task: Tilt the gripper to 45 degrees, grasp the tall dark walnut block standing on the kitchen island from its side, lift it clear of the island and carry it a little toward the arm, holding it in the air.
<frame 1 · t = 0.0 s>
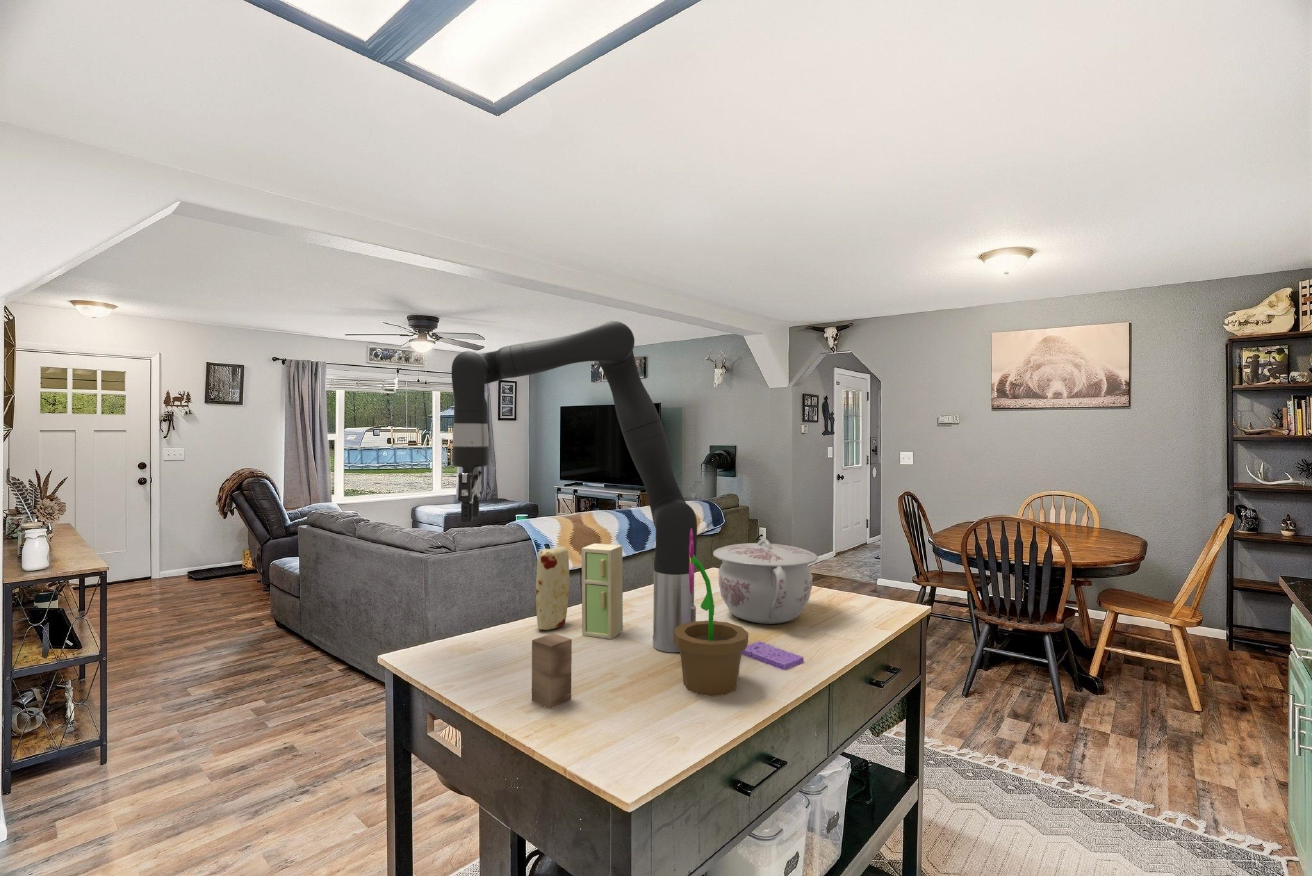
hand: (470, 518, 135), 29 cm above the countertop, tool pointing down, fingers open, 8 cm apart
sponges: (770, 661, 134), on the countertop
flowerpot: (710, 685, 119), on the countertop
food model: (552, 628, 153), on the countertop
walnut block: (551, 700, 112), on the countertop
toy refrigerator: (601, 634, 149), on the countertop
chamber pot: (763, 617, 164), on the countertop
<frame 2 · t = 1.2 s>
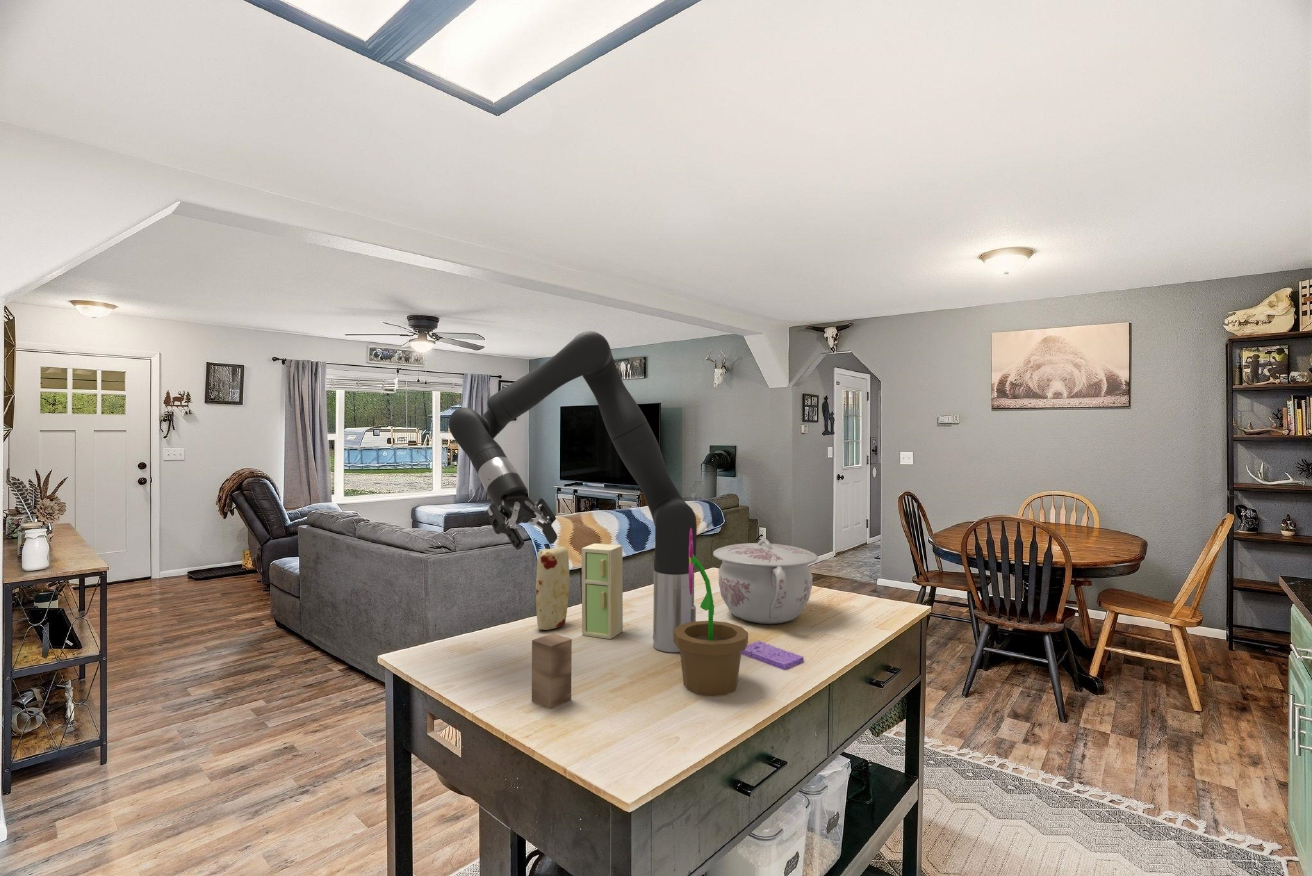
hand: (538, 544, 124), 26 cm above the countertop, tool tilted 45°, fingers open, 8 cm apart
nothing on the countertop moved.
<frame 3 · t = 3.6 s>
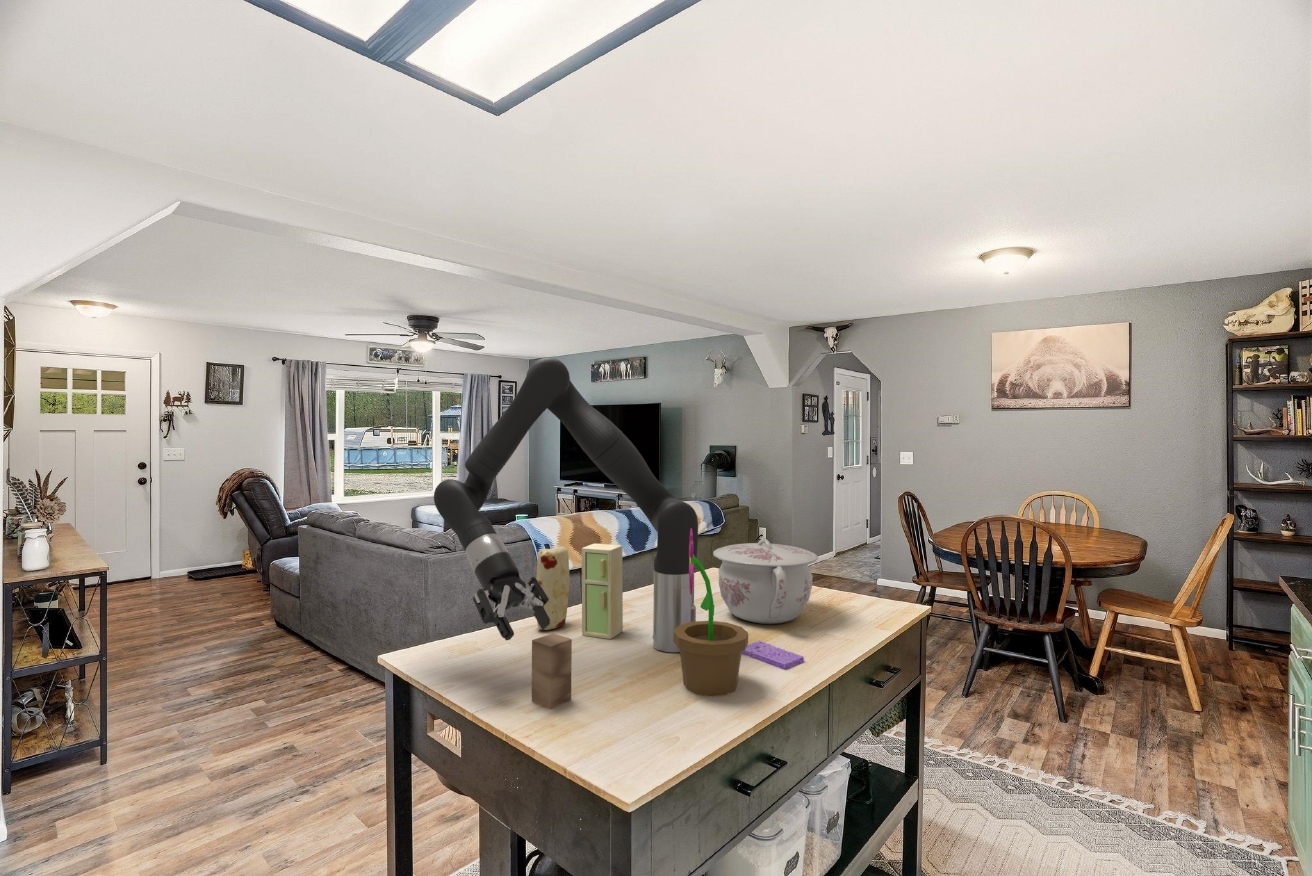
hand: (529, 631, 116), 11 cm above the countertop, tool tilted 45°, fingers open, 8 cm apart
nothing on the countertop moved.
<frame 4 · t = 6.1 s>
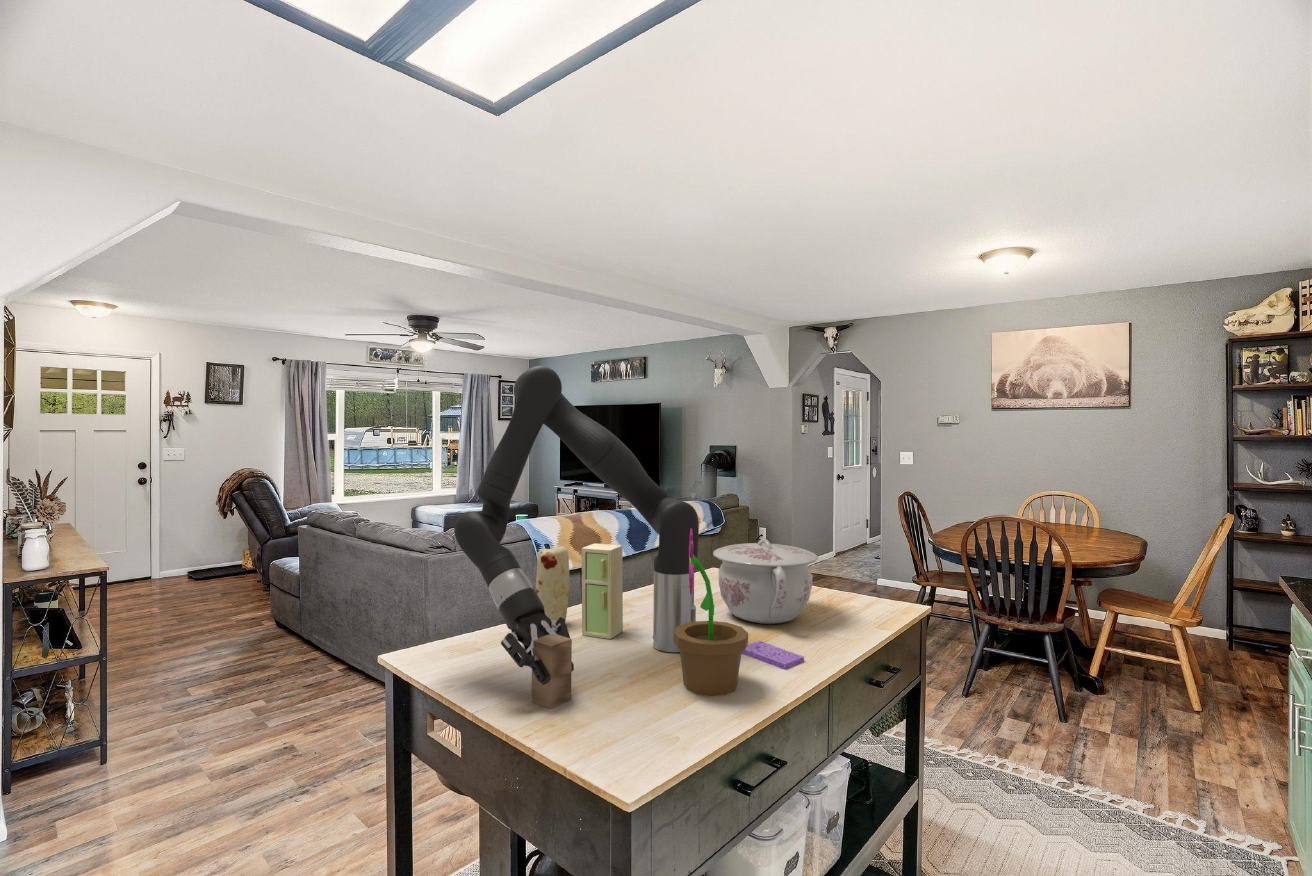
hand: (558, 676, 111), 5 cm above the countertop, tool tilted 45°, fingers closed on walnut block, 5 cm apart
walnut block: (551, 700, 112), on the countertop, touching gripper
everything else where it was.
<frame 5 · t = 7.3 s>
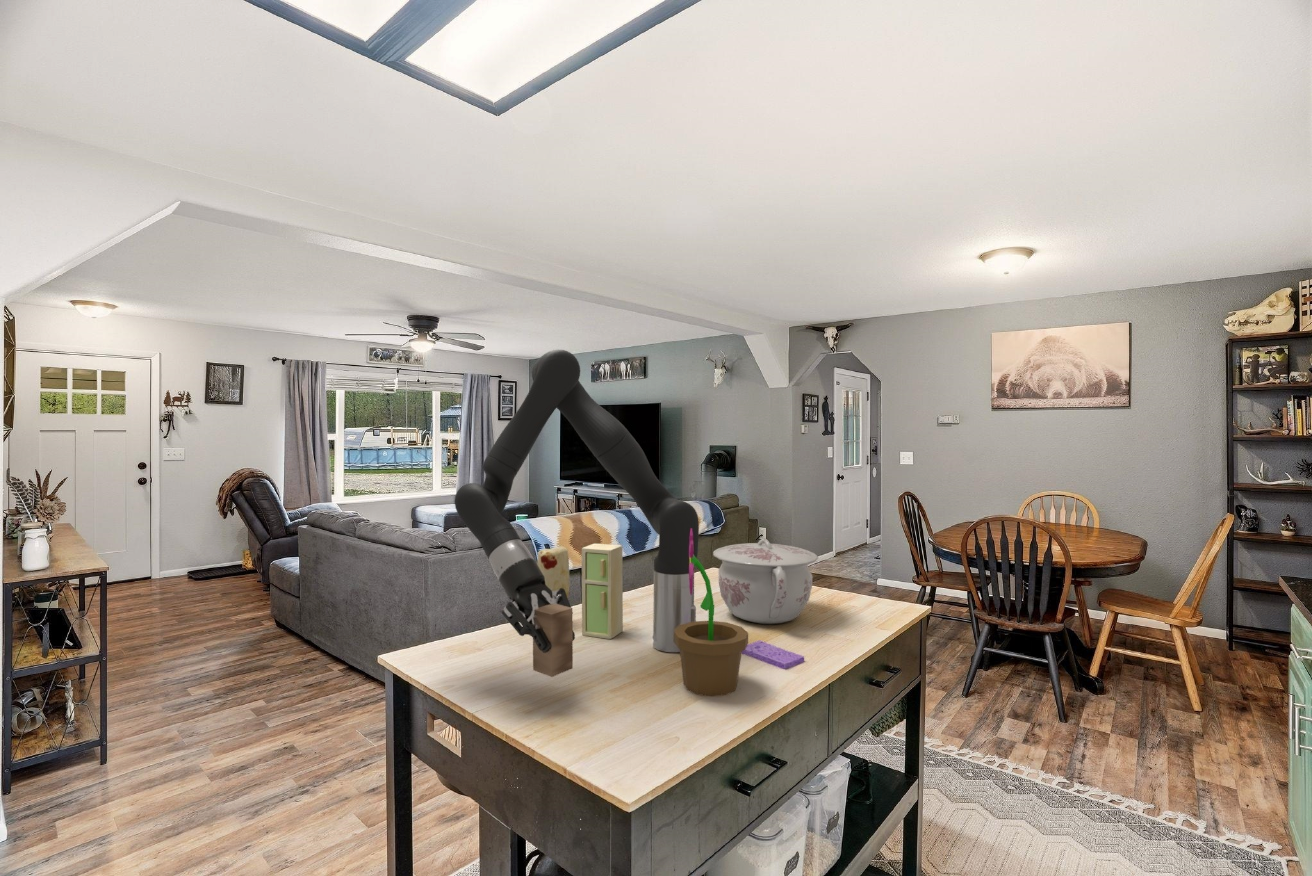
hand: (559, 645, 111), 10 cm above the countertop, tool tilted 45°, fingers closed on walnut block, 5 cm apart
walnut block: (552, 669, 112), point 6 cm above the countertop, touching gripper
everything else where it was.
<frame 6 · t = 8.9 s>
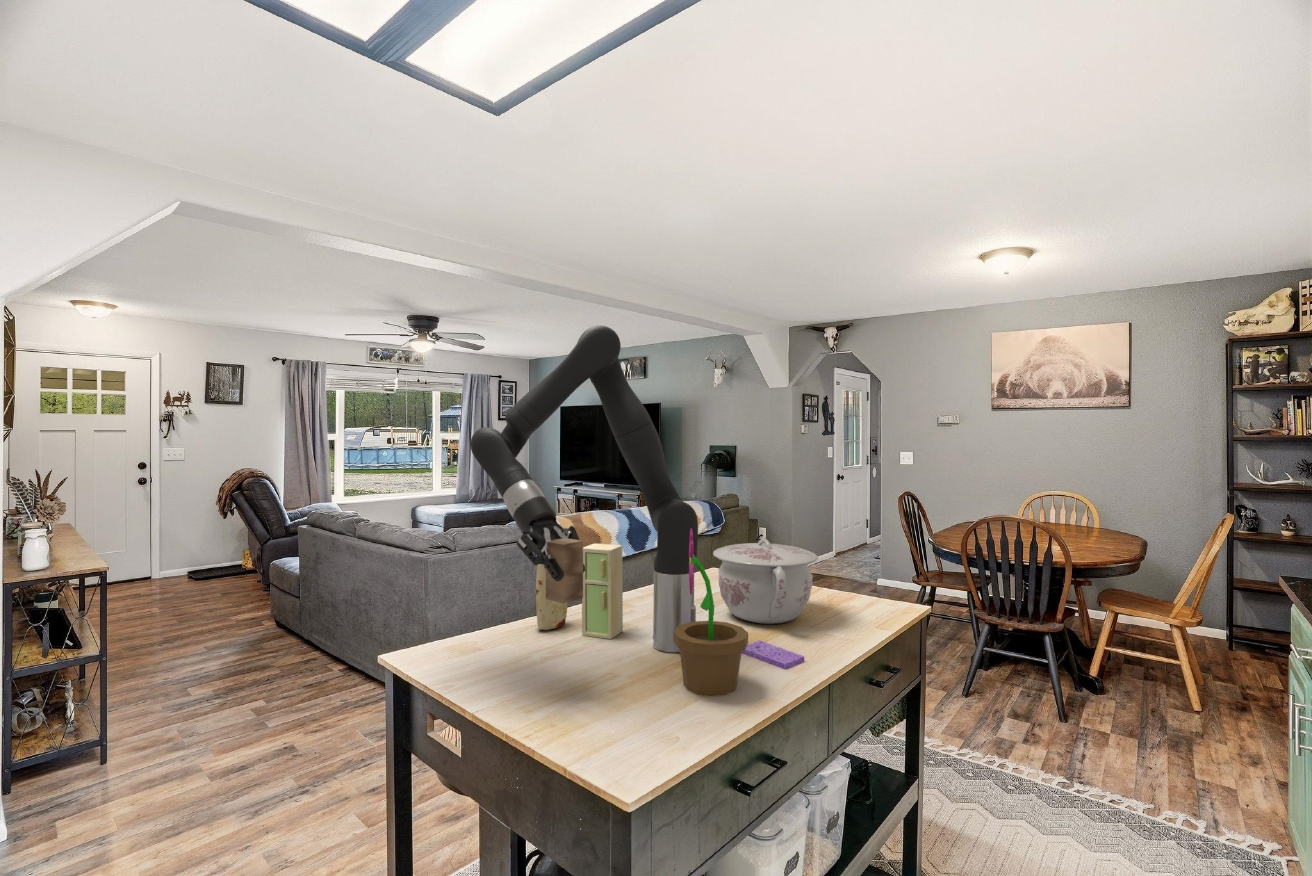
hand: (571, 575, 118), 21 cm above the countertop, tool tilted 45°, fingers closed on walnut block, 5 cm apart
walnut block: (564, 598, 119), point 17 cm above the countertop, touching gripper
everything else where it was.
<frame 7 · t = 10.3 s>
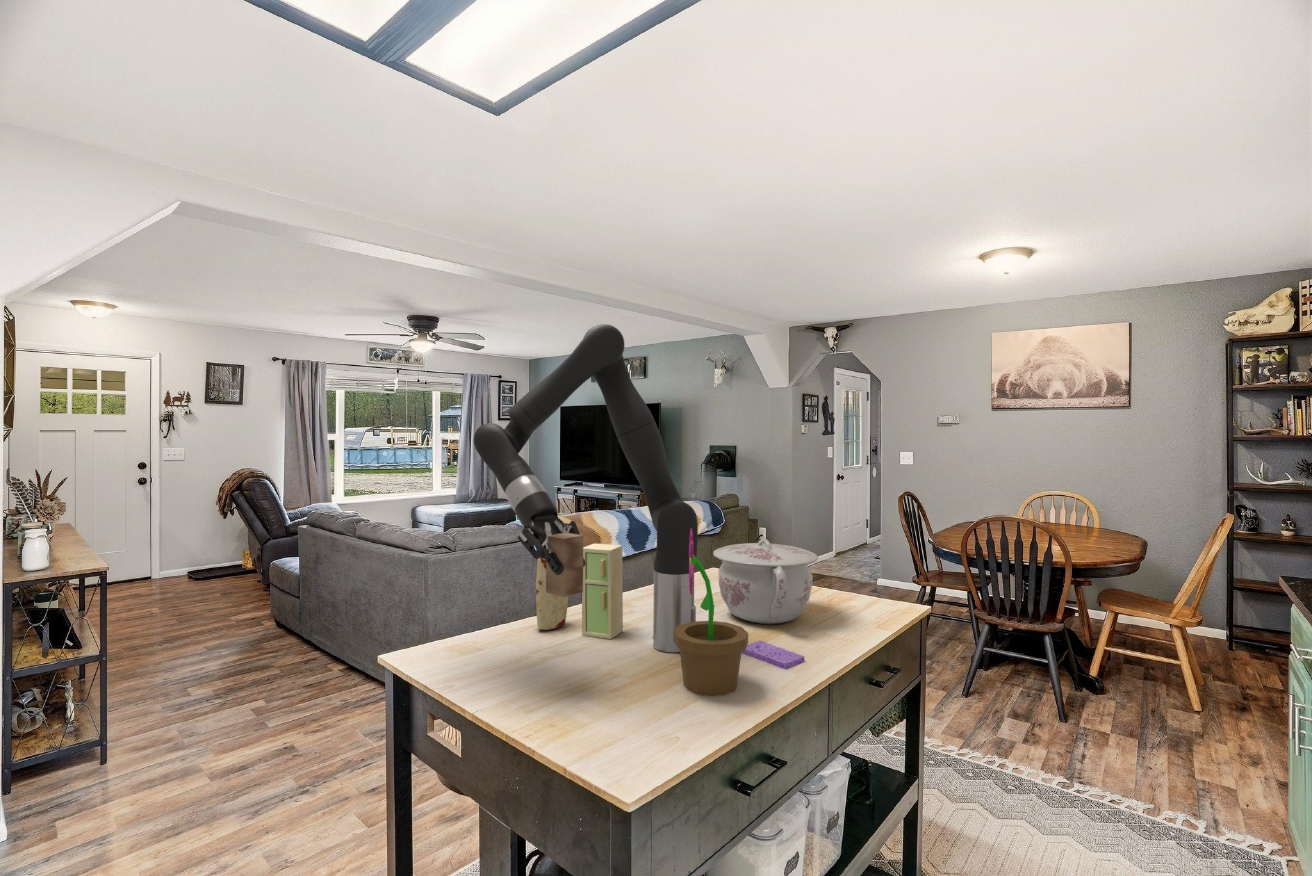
hand: (571, 569, 119), 22 cm above the countertop, tool tilted 45°, fingers closed on walnut block, 5 cm apart
walnut block: (564, 592, 120), point 17 cm above the countertop, touching gripper
everything else where it was.
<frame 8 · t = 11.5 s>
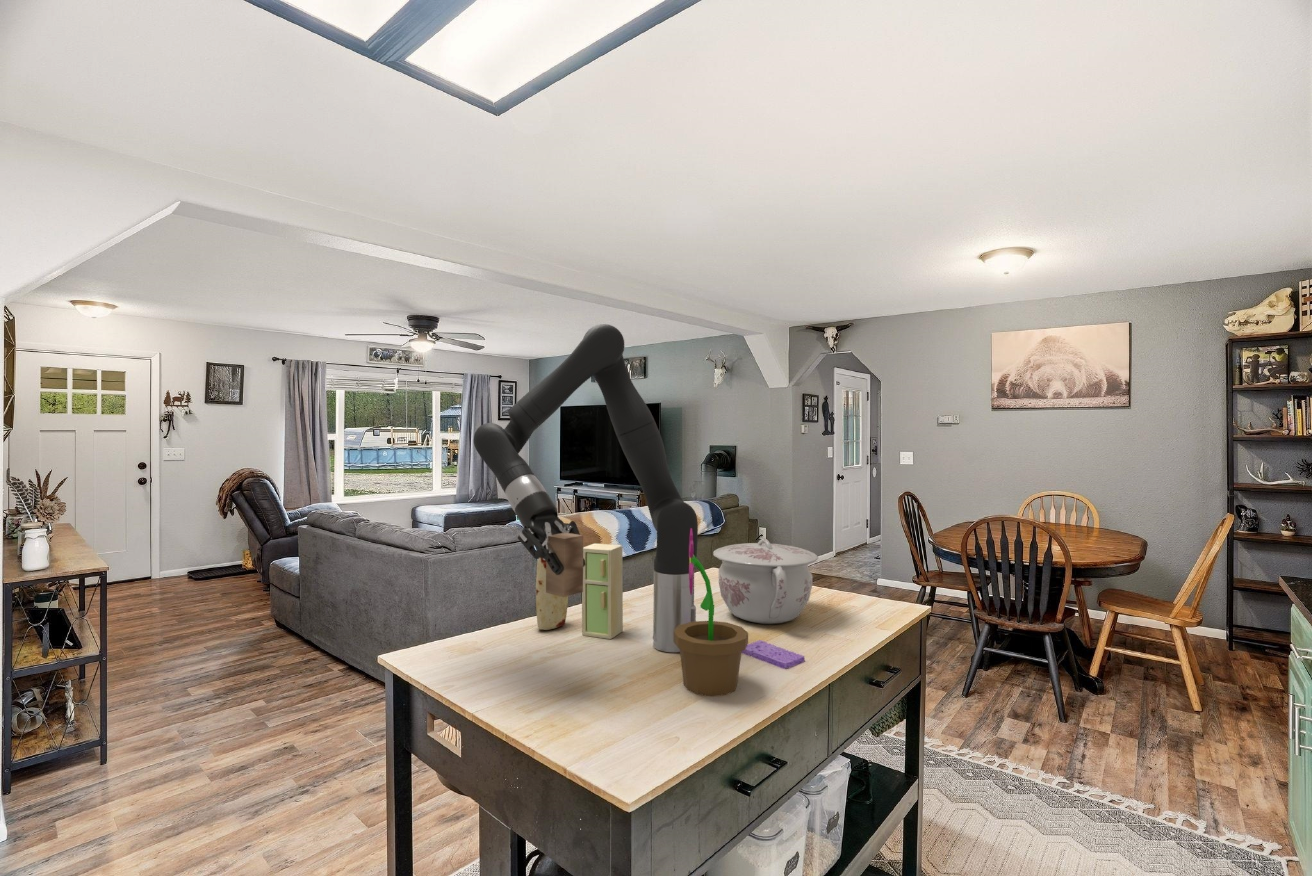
hand: (571, 569, 119), 22 cm above the countertop, tool tilted 45°, fingers closed on walnut block, 5 cm apart
walnut block: (564, 592, 120), point 17 cm above the countertop, touching gripper
everything else where it was.
at the end: the gripper is holding walnut block; walnut block point 17.4 cm above the countertop; walnut block tilted 0° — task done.
